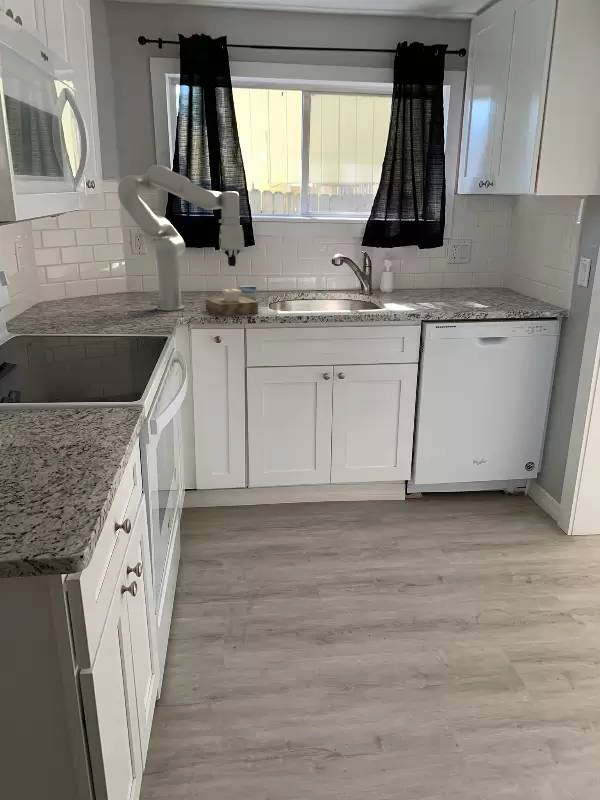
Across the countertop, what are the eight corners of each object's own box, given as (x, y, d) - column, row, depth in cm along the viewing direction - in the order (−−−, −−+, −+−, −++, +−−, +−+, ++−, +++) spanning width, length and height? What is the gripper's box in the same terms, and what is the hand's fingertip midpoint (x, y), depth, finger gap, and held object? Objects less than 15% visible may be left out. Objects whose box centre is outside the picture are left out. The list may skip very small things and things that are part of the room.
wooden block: (220, 316, 263) (220, 304, 261) (206, 310, 276) (205, 299, 274) (258, 313, 271) (257, 301, 270) (242, 307, 284) (242, 296, 283)
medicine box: (240, 305, 290) (240, 286, 287) (238, 303, 294) (238, 285, 291) (256, 304, 292) (256, 286, 289) (254, 303, 296) (254, 285, 293)
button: (228, 305, 268) (227, 291, 266) (222, 303, 274) (221, 289, 272) (241, 304, 271) (241, 290, 269) (235, 302, 277) (235, 288, 275)
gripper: (218, 222, 255) (219, 267, 261) (250, 222, 262) (251, 265, 268) (211, 222, 261) (212, 266, 267) (242, 221, 268) (243, 264, 274)
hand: (232, 265), depth 267 cm, fingers closed
